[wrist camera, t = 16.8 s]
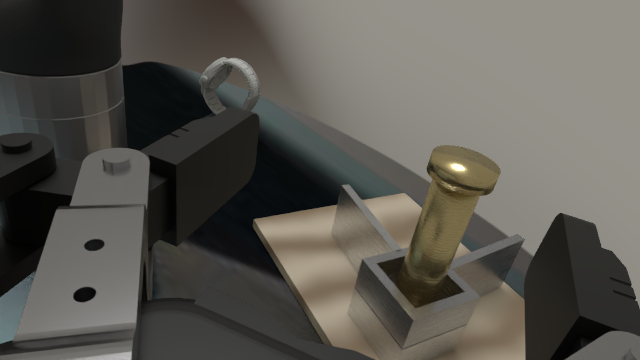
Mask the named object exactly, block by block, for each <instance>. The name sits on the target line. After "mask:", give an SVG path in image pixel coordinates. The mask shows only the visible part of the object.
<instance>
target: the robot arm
mask: <svg viewBox="0 0 640 360" xmlns="http://www.w3.org/2000/svg"><path fill="white" fill-rule="evenodd" d="M122 12H123V0H0V297H1V296H2V295H4V294H5V293H6V292H8V291H9V290H10V289H12V288H13V287H14V286H15V285H17V284H18V283H19V282H21V281H22V280H23V279H25V278H26V277H27V276H29V275H30V274H31V273H33V272H34V271H35V270H37V271H36V274H35V277H34V280H33V283H32V286H31V289H30V292H29V295H28V298H27V301H26V304H25V307H24V310H23V313H22V317H21V320H20V323H19V326H18V329H17V332H16V335H15V338H14V340H12V341H9V342H5V343H2V344H0V360H375V359H373V358H371V357H368V356H366V355H364V354H361V353H359V352H357V351H355V350H350V349H345V348H340V347H335V346H330V345H325V344H320V343H315V342H310V341H305V340H301V339H298V338H296V337H294V336H292V335H291V334H289V333H288V332H287V331H285V330H284V329H283V328H281V327H280V326H279V325H277V324H276V323H275V322H273V321H272V320H271V319H269V318H268V317H267V316H265V315H264V314H263V313H261V312H260V311H259V310H257V309H256V308H255V307H253V306H251V305H249V304H247V303H244V302H242V301H240V300H237V299H235V298H233V297H230V296H228V295H226V294H224V293H221V292H219V291H217V290H214V289H212V288H210V287H207V289H206V290H205V291H204V292H203V293H202V294H201V295H200V296H199V298H198V299H197V300H193V299H183V298H163V299H154V300H152V281H153V244H154V243H156V242H157V241H158V240H159V239H160V240H162V241H165V242H167V243H169V244H172V245H174V246H176V247H177V246H178V245H179V244H180V243H181V242H182V241H184V240H185V239H186V238H187V237H188V236H189V235H190V234H191V233H192V232H193V231H195V230H196V229H197V228H198V227H199V226H200V225H201V224H202V223H203V222H205V221H206V220H207V219H208V218H209V217H210V216H211V215H212V214H213V213H214V212H216V211H217V210H218V209H219V208H220V207H221V206H222V205H223V204H224V203H225V202H227V201H228V200H229V199H230V198H231V197H232V196H233V195H234V194H235V193H237V192H238V191H239V190H240V189H241V188H242V187H243V186H244V185H245V184H246V183H247V182H248V181H249V179H250V178H251V176H252V174H253V171H254V168H255V162H256V152H257V142H258V132H259V117H258V115H257V114H256V113H252V112H249V111H246V110H243V109H240V108H237V107H234V106H231V107H229V108H227V109H225V110H224V111H222V112H220V113H219V114H217V115H215V116H214V117H207V118H203V119H198V120H194V121H192V122H190V123H188V124H187V125H185V126H183V127H181V130H180V129H178V130H176V131H174V132H173V133H171V135H167V136H165V137H164V138H162V139H160V140H158V141H157V142H155V143H153V144H151V145H149V146H148V147H146V148H144V149H142V150H141V151H137V150H134V149H129V148H127V134H126V119H125V104H124V92H123V77H122V61H121V25H122ZM635 299H636V296H635V293H634V290H633V288H632V287H631V281H630V278H629V275H628V272H627V269H626V267H625V266H624V265H623V264H622V263H621V261H620V260H619V259H618V258H617V257H616V255H615V254H614V253H613V252H612V251H610V250H606V249H603V248H601V244H600V240H599V237H598V232H597V229H596V226H595V224H594V223H590V222H587V221H585V220H581V219H578V218H575V217H572V216H569V215H566V214H563V213H560V214H558V215H557V216H556V217H555V219H554V221H553V222H552V224H551V226H550V228H549V230H548V231H547V233H546V235H545V237H544V239H543V241H542V243H541V244H540V246H539V248H538V250H537V252H536V253H535V255H534V257H533V259H532V261H531V263H530V265H529V268H528V270H527V274H526V277H525V283H524V303H525V360H640V309H639V305H638V303H637V301H635Z"/></svg>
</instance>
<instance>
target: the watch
mask: <svg viewBox="0 0 640 360" xmlns="http://www.w3.org/2000/svg"><path fill="white" fill-rule="evenodd" d="M232 66H234V67H235V68H237V69H238V70H240V72H241V73H242V74H243V75H245V78H246V80H247V81H249V82H248V85H249V88H250V91H249V93H248V97H247V98H246V100H245V102H244V104H243V106H242V108H241V109H243V110H246V111H249V112H250V111H251V110H252V109H253V107H254V106H255V105H256V103H257V101H258V99H259V96H260V95H259V89H260V86H259V80H258V78H257V75H256V73H255V72H253V71H254V70H253V69H252V67H251V66H249V64H247V63H246V62H244V61H243V60H240V59H237V58H231V59H227V58H220V59H218V60H216V61H215V62H214V63H212V64H211V65H210V66H209V67H208V68H207V69H206V70H205V71H204V73H203V74H202V76H201V78H200V81H199V83H200V84H201V93H202V94H203V96H204V98H205V101H206V103H207V105H208V106H209V108H210V109H211V110H213V112H214V113H212V114H210V115H208V116H206V117H204V118H207V117H214V116H215V115H217V114H219V113H220V112H222V111H224V110H225V109H227V108H229V106H227V107H224V106H222V104H221V102H220V101H219V100H218V97H217V95H216V92H215V90H216V89H218V87H219V85H220V84H221V83H223V82H224V81H225V80H226V78H227V77H228V76H229V74H230V72H231V70H232ZM254 81H255V82H254ZM214 94H215V95H214Z"/></svg>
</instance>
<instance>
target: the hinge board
mask: <svg viewBox="0 0 640 360" xmlns="http://www.w3.org/2000/svg"><path fill="white" fill-rule="evenodd" d="M362 201H363V202H364V204H365V205H366V206H367V207H368V208H369V210H370V211H371V212H372V213H373V215H374V216H375V217H376V218H377V219H378V221H379V222H380V223H381V224H382V226H383V227H384V228H385V229H386V230H387V232H388V233H389V234H390V235H391V237H392V238H393V239H394V240H395V241H396V243H397V244H398V245H399V246H400V247H401V249H403V248H407V247H409V245H410V242H411V239H412V236H413V233H414V231H415V228H416V225H417V222H418V219H419V216H420V214H421V211H422V208H421V207H420V206H419V205H417V204H416V203H415V202H414V201H413V200H412V199H411V198H410V197H409V196H407V195H406V194H405V193H402V194H396V195H390V196H385V197H379V198H373V199H367V200H362ZM336 208H337V205H333V206H328V207H322V208H316V209H310V210H305V211H299V212H293V213H288V214H282V215H276V216H270V217H265V218H259V219H254V222H253V228H254V230H255V231H256V233H257V235H258V236H259V238H260V239H261V241H262V243H263V244H264V246H265V248H266V249H267V251H268V253H269V254H270V256H271V257H272V259H273V261H274V262H275V264H276V266H277V267H278V269H279V271H280V272H281V274H282V276H283V277H284V279H285V280H286V282H287V284H288V285H289V287H290V289H291V290H292V292H293V294H294V295H295V297H296V298H297V300H298V302H299V303H300V305H301V307H302V308H303V310H304V312H305V313H306V315H307V317H308V318H309V320H310V321H311V323H312V325H313V326H314V328H315V330H316V331H317V333H318V335H319V336H320V338H321V339H322V341H323V343H324V344H325V345H330V346H335V347H340V348H345V349H350V350H355V351H357V352H359V353H361V354H364V355H366V356H368V357H371V358H373V359H375V360H380V359H379V358H378V356H377V355H376V353H375V352H374V351H373V349H372V348H371V346H370V345H369V344H368V342H367V341H366V339H365V338H364V336H363V335H362V334H361V332H360V331H359V329H358V328H357V326H356V325H355V324H354V322H353V321H352V319H351V318H350V316H349V315H348V314H347V312H348V309H349V305H350V301H351V298H352V294H353V290H354V287H355V283H356V279H357V276H358V274H357V273H356V271H355V270H354V268H353V267H352V265H351V264H350V262H349V261H348V259H347V258H346V256H345V255H344V253H343V252H342V250H341V249H340V247H339V246H338V244H337V243H336V241H335V240H334V238H333V236H332V235H331V231H332V227H333V222H334V218H335V213H336ZM468 253H471V252H470V251H469V250H468V249H467V248H466V247H464V246H463V245H462V244H461V243H460V244H459V247H458V249H457V251H456V254H455V256H454V258H453V259H456V258H458V257H461V256H463V255H466V254H468ZM433 360H525V303H524V299H523V298H521V297H520V296H519V295H518V294H517V293H516V292H515V291H514V290H512V289H511V288H510V287H509V286H508V285H507V284H506V283H505V282H503V284H502V286H501V288H499V289H497V290H495V291H493V292H490V293H488V294H486V295H484V296H482V297H480V299H479V301H478V303H477V305H476V307H475V309H474V311H473V314H472V316H471V318H470V320H469V322H468V324H467V326H466V328H465V330H464V332H463V334H462V337H461V339H460V341H459V343H458V345H457V347H456V349H455V350H454V351H452V352H450V353H447V354H445V355H442V356H440V357H438V358H435V359H433Z"/></svg>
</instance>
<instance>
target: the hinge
mask: <svg viewBox="0 0 640 360" xmlns="http://www.w3.org/2000/svg"><path fill="white" fill-rule="evenodd" d="M331 235H332V236H333V238H334V240H335V241H336V243H337V244H338V246H339V247H340V249H341V250H342V252H343V253H344V255H345V256H346V258H347V259H348V261H349V262H350V264H351V265H352V267H353V268H354V270H355V271H356V273H357V274H358V276H357V279H356V283H355V287H354V290H353V294H352V298H351V301H350V305H349V309H348V312H347V314H348V315H349V316H350V318H351V319H352V321H353V322H354V324H355V325H356V326H357V328H358V329H359V331H360V332H361V334H362V335H363V336H364V338H365V339H366V341H367V342H368V344H369V345H370V346H371V348H372V349H373V351H374V352H375V353H376V355H377V356H378V358H379V359H380V360H433V359H435V358H438V357H440V356H442V355H445V354H447V353H450V352H452V351H454V350H455V349H456V347H457V345H458V343H459V341H460V339H461V337H462V334H463V332H464V330H465V328H466V326H467V324H468V322H469V320H470V318H471V316H472V314H473V311H474V309H475V307H476V305H477V303H478V301H479V299H480V297H482V296H484V295H486V294H488V293H490V292H493V291H495V290H497V289H499V288H501V286H502V284H503V282H504V280H505V278H506V276H507V274H508V272H509V270H510V268H511V266H512V264H513V262H514V260H515V258H516V256H517V254H518V252H519V250H520V248H521V246H522V244H523V242H524V240H525V239H524V238H522V237H521V236H519V235H517V234H516V235H514V236H511V237H509V238H506V239H504V240H501V241H499V242H496V243H494V244H491V245H488V246H486V247H483V248H481V249H478V250H476V251H473V252H471V253H468V254H466V255H463V256H461V257H458V258H456V259H453V261H452V263H451V266H450V268H449V270H448V273H447V275H446V277H445V280H444V282H443V285H442V287H441V289H440V292H439V294H438V296H437V299H436V301H435V302H434V303H431V304H428V305H425V306H422V307H419V308H416V309H415V308H414V307H413V306H412V304H411V303H410V302H409V301H408V300H407V299H406V297H405V296H404V295H403V294H402V293H401V292H400V290H399V289H398V288H397V287H396V286H395V285H396V282H397V279H398V276H399V273H400V270H401V268H402V265H403V262H404V259H405V256H406V253H407V251H408V248H409V247H407V248H403V249H401V247H400V246H399V245H398V244H397V243H396V241H395V240H394V239H393V238H392V237H391V235H390V234H389V233H388V232H387V230H386V229H385V228H384V227H383V226H382V224H381V223H380V222H379V221H378V219H377V218H376V217H375V216H374V215H373V213H372V212H371V211H370V210H369V208H368V207H367V206H366V205H365V204H364V202H363V201H362V200H361V199H360V198H359V196H358V195H357V194H356V193H355V191H354V190H353V189H352V188H351V187H350V185H342V186H341V190H340V195H339V199H338V204H337V208H336V213H335V218H334V222H333V227H332V231H331Z"/></svg>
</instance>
